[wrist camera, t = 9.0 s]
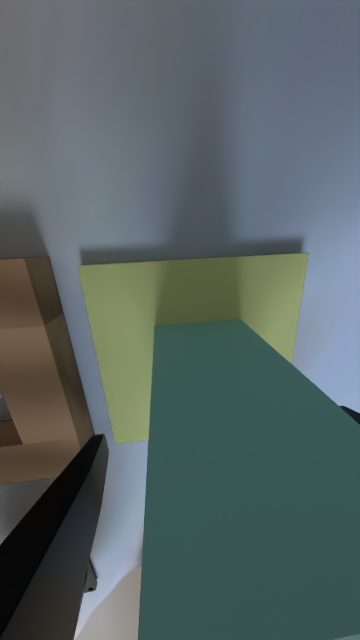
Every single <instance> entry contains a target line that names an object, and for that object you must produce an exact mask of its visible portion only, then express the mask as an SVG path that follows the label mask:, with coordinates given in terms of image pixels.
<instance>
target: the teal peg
mask: <svg viewBox="0 0 360 640" xmlns="http://www.w3.org/2000/svg"><path fill="white" fill-rule="evenodd" d="M138 640H360V424H358V423H357V422H356V421H355V420H354V419H353V418H352V417H351V416H349V415H348V414H347V413H346V412H345V411H344V410H343V409H342V408H340V407H339V406H338V405H337V404H336V403H335V402H334V401H333V400H331V399H330V398H329V397H328V396H327V395H326V394H325V393H324V392H322V391H321V390H320V389H319V388H318V387H317V386H316V385H315V384H313V383H312V382H311V381H310V380H309V379H308V378H307V377H305V376H304V375H303V374H302V373H301V372H300V371H299V370H298V369H296V368H295V367H294V366H293V365H292V364H291V363H290V362H289V361H287V360H286V359H285V358H284V357H283V356H282V355H281V354H280V353H278V352H277V351H276V350H275V349H274V348H273V347H272V346H271V345H269V344H268V343H267V342H266V341H265V340H264V339H263V338H262V337H260V336H259V335H258V334H257V333H256V332H255V331H254V330H253V329H251V328H250V327H249V326H248V325H247V324H246V323H245V322H244V321H242V320H241V319H237V320H225V321H212V322H200V323H187V324H175V325H162V326H154V344H153V363H152V382H151V401H150V420H149V439H148V458H147V477H146V496H145V515H144V534H143V553H142V573H141V591H140V610H139V629H138Z"/></svg>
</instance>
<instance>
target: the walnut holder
mask: <svg viewBox="0 0 360 640" xmlns="http://www.w3.org/2000/svg"><path fill="white" fill-rule="evenodd" d="M0 392H1V394H2V396H3V399H4V401H5V403H6V406H7V408H8V410H9V413H10V415H11V417H12V420H9V421H0V485H2V484H9V483H17V482H24V481H32V480H40V479H47V478H55V477H58V476H59V475H60V473H61V472H62V471H63V470H64V469H65V467H66V466H67V465H68V464H69V463H70V461H71V460H72V459H73V458H74V457H75V456H76V454H77V453H78V452H79V451H80V450H81V448H82V447H83V446H84V445H85V444H86V442H87V441H88V440H89V439H90V438H91V437H92V436H93V435H94V431H93V427H92V423H91V419H90V415H89V412H88V408H87V404H86V400H85V396H84V392H83V388H82V384H81V380H80V377H79V373H78V369H77V365H76V361H75V357H74V353H73V349H72V345H71V341H70V338H69V334H68V330H67V326H66V322H65V318H64V314H63V310H62V306H61V303H60V299H59V295H58V291H57V287H56V283H55V279H54V275H53V271H52V267H51V264H50V260H49V256H47V257H28V258H9V259H0Z"/></svg>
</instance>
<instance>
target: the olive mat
mask: <svg viewBox="0 0 360 640" xmlns="http://www.w3.org/2000/svg"><path fill="white" fill-rule="evenodd" d="M308 255H309V253H288V254H270V255H252V256H234V257H216V258H198V259H180V260H162V261H144V262H126V263H108V264H90V265H79V266H77V268H78V272H79V277H80V282H81V286H82V291H83V296H84V300H85V305H86V310H87V314H88V319H89V324H90V328H91V333H92V338H93V342H94V347H95V352H96V356H97V361H98V366H99V370H100V375H101V380H102V384H103V389H104V394H105V398H106V403H107V408H108V412H109V417H110V422H111V426H112V431H113V436H114V440H115V444H122V443H130V442H139V441H147V440H148V439H149V420H150V401H151V382H152V363H153V344H154V326H162V325H175V324H187V323H200V322H212V321H225V320H237V319H241V320H242V321H244V322H245V323H246V324H247V325H248V326H249V327H250V328H251V329H253V330H254V331H255V332H256V333H257V334H258V335H259V336H260V337H262V338H263V339H264V340H265V341H266V342H267V343H268V344H269V345H271V346H272V347H273V348H274V349H275V350H276V351H277V352H278V353H280V354H281V355H282V356H283V357H284V358H285V359H286V360H287V361H289V362H290V363H291V360H292V354H293V348H294V342H295V335H296V329H297V323H298V317H299V311H300V304H301V298H302V292H303V286H304V280H305V274H306V267H307V261H308Z"/></svg>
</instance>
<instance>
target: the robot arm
mask: <svg viewBox="0 0 360 640" xmlns="http://www.w3.org/2000/svg"><path fill="white" fill-rule="evenodd" d="M339 407H340V408H342V409H343V410H344V411H345V412H346V413H347V414H348V415H349V416H351V417H352V418H353V419H354V420H355V421H356V422H357V423H358V424H360V413H358V412H356V411H353V410H351V409H349V408H347V407H345V406H339ZM108 455H109V450H108V445H107V441H106V437H105V435H104V434H97V435H93V436H92V437H91V438H90V439H89V440H88V441H87V442H86V444H85V445H84V446H83V447H82V448H81V450H80V451H79V452H78V453H77V454H76V456H75V457H74V458H73V459H72V460H71V461H70V463H69V464H68V465H67V466H66V467H65V469H64V470H63V471H62V472H61V473H60V475H59V476H58V477H57V478H56V479H55V480H54V482H53V483H52V484H51V485H50V486H49V488H48V489H47V490H46V491H45V492H44V494H43V495H42V496H41V497H40V498H39V500H38V501H37V502H36V503H35V504H34V505H33V507H32V508H31V509H30V510H29V511H28V513H27V514H26V515H25V516H24V517H23V519H22V520H21V521H20V522H19V523H18V524H17V526H16V527H15V528H14V529H13V530H12V532H11V533H10V534H9V535H8V536H7V538H6V539H5V540H4V541H3V542H2V543H1V545H0V640H74V635H75V631H76V626H77V621H78V617H79V612H80V608H81V603H82V598H83V594H84V593H86V592H92V591H95V590H96V586H97V580H96V577H95V575H94V572H93V570H92V567H91V564H90V562H89V557H90V553H91V549H92V545H93V540H94V536H95V532H96V527H97V523H98V519H99V515H100V510H101V505H102V498H103V491H104V484H105V477H106V470H107V463H108Z"/></svg>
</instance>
